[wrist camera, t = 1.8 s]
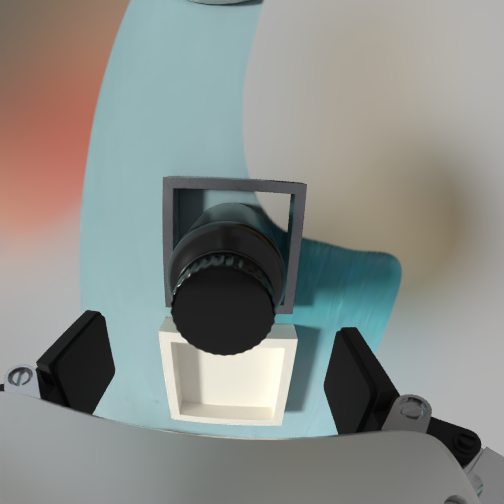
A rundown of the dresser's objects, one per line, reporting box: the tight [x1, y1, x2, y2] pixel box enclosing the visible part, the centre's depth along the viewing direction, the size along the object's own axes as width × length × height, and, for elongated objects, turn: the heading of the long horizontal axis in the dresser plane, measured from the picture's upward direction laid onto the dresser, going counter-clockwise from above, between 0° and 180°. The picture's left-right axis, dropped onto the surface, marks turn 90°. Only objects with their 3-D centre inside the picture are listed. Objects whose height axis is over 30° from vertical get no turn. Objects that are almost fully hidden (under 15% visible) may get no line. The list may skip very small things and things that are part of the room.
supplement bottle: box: [167, 203, 287, 356], centre depth 18 cm, size 7×7×12 cm
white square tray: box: [159, 317, 298, 426], centre depth 27 cm, size 12×12×2 cm
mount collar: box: [163, 176, 307, 314], centre depth 23 cm, size 11×11×2 cm
